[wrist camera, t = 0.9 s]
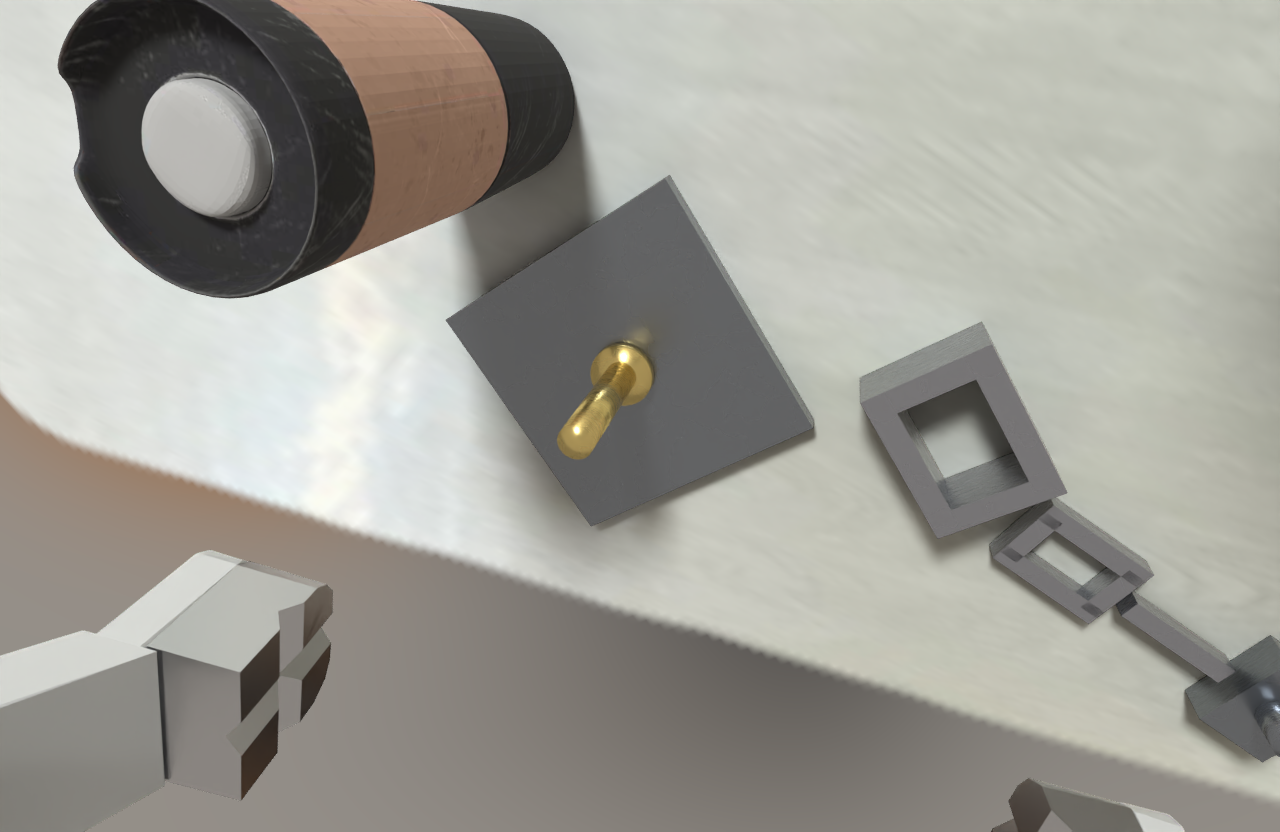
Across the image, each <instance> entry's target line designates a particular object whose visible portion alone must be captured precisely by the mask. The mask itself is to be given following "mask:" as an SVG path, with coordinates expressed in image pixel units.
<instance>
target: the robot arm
mask: <svg viewBox="0 0 1280 832" xmlns="http://www.w3.org/2000/svg"><path fill="white" fill-rule="evenodd" d="M332 613H333V590H332V589H331V588H330V587H329V586H328V585H327V584H324V583H320V582H317V581H314V580H311V579H307V578H304V577H300V576H297V575H294V574H291V573H288V572H284V571H281V570H278V569H274V568H271V567H268V566H264V565H261V564H258V563H254V562H251V561H248V562H247V561H244V560H241V559H238V558H235V557H231V556H228V555H225V554H222V553H218V552H215V551H212V550H208V551H204V552H200V553H197V554H195V555H194V556H192V557H191V558H190V559H189V560H187V561H186V562H185V563H184V564H182V565H181V566H180V567H179V568H178V569H176V570H175V571H174V572H173V573H172V574H170V575H169V576H168V577H166V578H165V579H164V580H163V581H161V582H160V583H159V584H158V585H157V586H155V587H154V588H153V589H151V590H150V591H149V592H148V593H146V594H145V595H144V596H143V597H141V599H139V600H138V601H137V602H135V603H134V604H133V605H131V606H130V607H129V608H128V609H126V610H125V611H124V612H123V613H122V614H120V615H119V616H118V617H117V618H115V619H114V620H113V621H112V622H110V623H109V624H108V625H107V626H105V627H104V628H103V629H102V630H100V631H99V632H98V633H97V634H95V633H91V632H87V631H84V630H83V631H79V632H76V633H73V634H70V635H66V636H63V637H60V638H56V639H53V640H50V641H47V642H43V643H40V644H37V645H34V646H30V647H27V648H24V649H20V650H17V651H14V652H11V653H8V654H4V655H1V656H0V832H85V831H87V830H88V829H90V828H92V827H94V826H96V825H97V824H99V823H101V822H102V821H104V820H106V819H108V818H109V817H111V816H113V815H115V814H117V813H118V812H120V811H122V810H123V809H125V808H127V807H129V806H130V805H132V804H134V803H136V802H137V801H139V800H141V799H143V798H145V797H146V796H148V795H150V794H151V793H153V792H155V791H157V790H159V789H160V788H162V787H164V785H165V781H167V782H171V783H175V784H178V785H182V786H186V787H190V788H194V789H198V790H201V791H205V792H209V793H213V794H217V795H221V796H224V797H228V798H232V799H236V800H239V801H241V800H242V799H243V798H244V796H245V795H246V794H247V792H248V791H249V790H250V788H251V787H252V786H253V784H254V783H255V782H256V780H257V779H258V778H259V776H260V775H261V774H262V772H263V771H264V770H265V768H266V767H267V766H268V764H269V763H270V762H271V760H272V759H273V758H274V756H275V755H276V754H277V751H278V750H277V749H278V732H280V731H282V730H284V729H286V728H288V727H291V726H293V725H295V724H297V723H299V722H300V721H301V720H302V719H303V717H304V716H305V714H306V713H307V712H308V710H309V709H310V707H311V706H312V705H313V703H314V701H315V699H316V697H317V695H318V693H319V691H320V688H321V686H322V684H323V682H324V680H325V677H326V673H327V669H328V665H329V661H330V650H331V642H330V640H329V639H328V637H327V636H326V634H325V633H324V631H323V629H322V628H321V627H322V626H323V624H324V623H325V622H326V621H327V619H328V618H329V617H330V616H331V615H332ZM1009 805H1010V808H1011V811H1012V814H1013V817H1014V819H1012V820H1010V821H1008V822H1006V823H1003V824H1001V825H1000V826H997V827H995V828H993V829H992V831H991V832H1185V831H1184V829H1183V827H1182V826H1181V825H1180V824H1179V823H1178V822H1177V821H1176V820H1175V819H1174V818H1172V817H1171V816H1170V815H1169V814H1166V813H1162V812H1157V811H1154V810H1150V809H1146V808H1142V807H1138V806H1134V805H1130V804H1127V803H1123V802H1121V803H1117V802H1115V801H1112V800H1109V799H1105V798H1101V797H1097V796H1094V795H1090V794H1086V793H1082V792H1079V791H1075V790H1071V789H1067V788H1064V787H1060V786H1056V785H1053V784H1049V783H1045V782H1042V781H1038V780H1034V779H1030V778H1028V779H1026V780H1025V781H1023V782H1022V783H1020V784H1019V785H1018V786H1017V787H1016V789H1015V791H1014V792H1013V794H1012V796H1011V797H1010V799H1009Z"/></svg>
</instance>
